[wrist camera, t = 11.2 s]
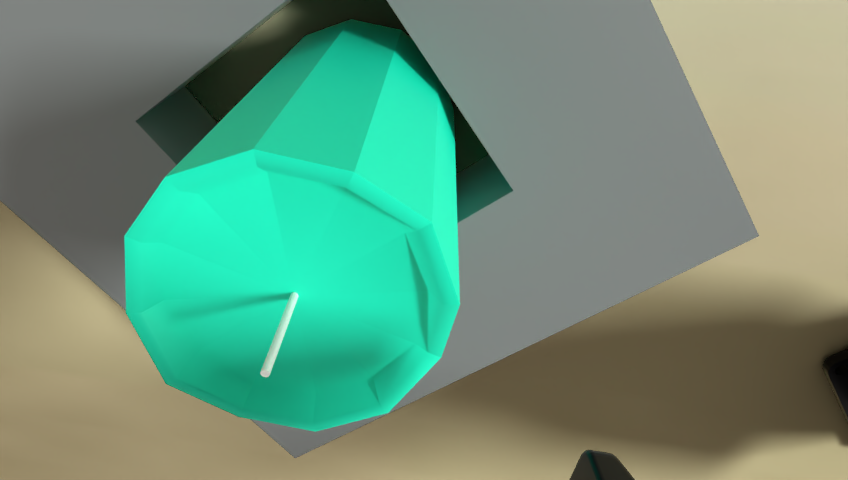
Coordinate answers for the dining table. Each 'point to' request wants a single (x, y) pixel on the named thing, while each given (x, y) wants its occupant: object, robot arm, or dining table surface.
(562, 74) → the socket block
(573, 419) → the dining table surface
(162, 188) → the candle
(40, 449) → the dining table surface
